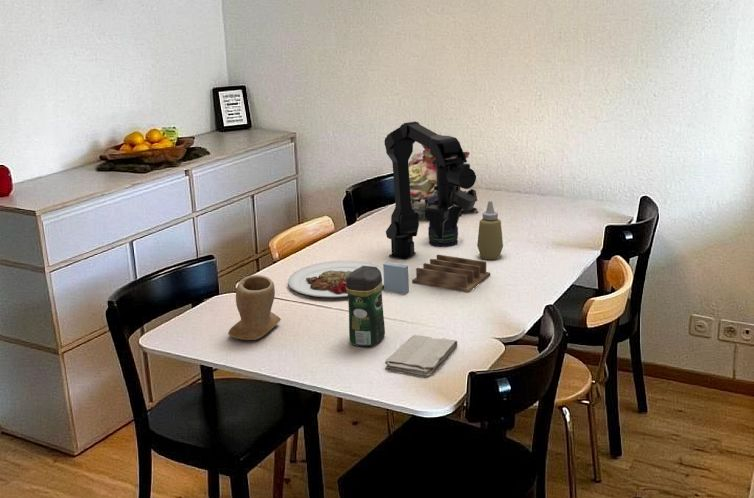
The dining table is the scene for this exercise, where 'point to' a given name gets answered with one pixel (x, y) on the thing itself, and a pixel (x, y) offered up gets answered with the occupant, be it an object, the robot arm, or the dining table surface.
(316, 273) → the plated food
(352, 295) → the coffee jar
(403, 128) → the robot arm
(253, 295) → the stone cup
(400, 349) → the washcloth
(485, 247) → the squeeze bottle
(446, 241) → the storage jar
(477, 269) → the dish rack
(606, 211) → the dining table surface
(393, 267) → the plate tile
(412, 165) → the rose bouquet
